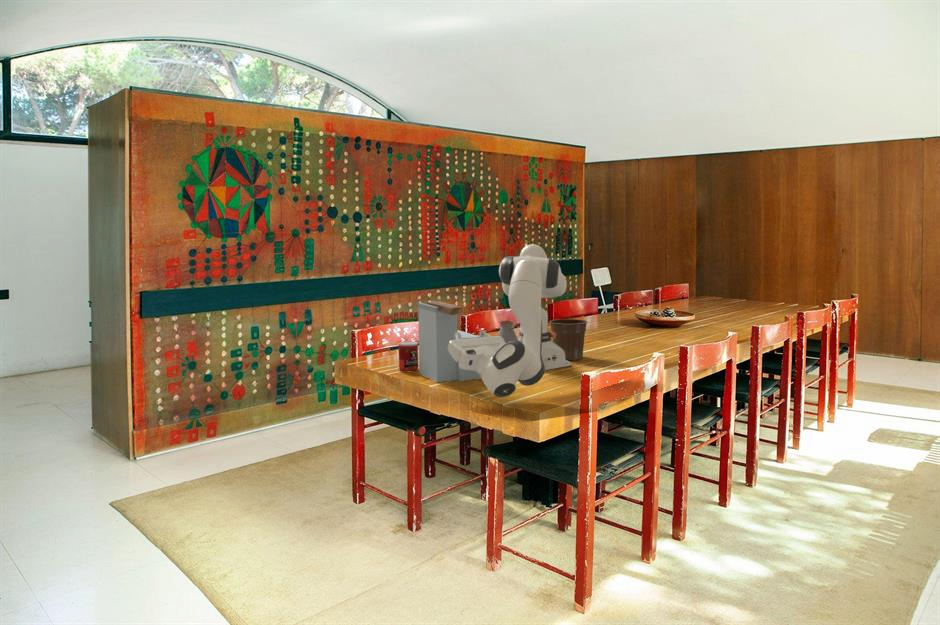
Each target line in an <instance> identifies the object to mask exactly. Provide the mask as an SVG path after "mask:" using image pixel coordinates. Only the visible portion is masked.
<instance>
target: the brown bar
mask: <svg viewBox="0 0 940 625" xmlns="http://www.w3.org/2000/svg"><path fill="white" fill-rule="evenodd" d="M426 304H428V305H431V306H435V307H439V312H442V313H446V314H449V315H456V314H457V315H463V306H459V305H456V304H452V303H448V302H447V303H446V302H444V301H439V300H437V301H436V300H434V301H433V300H431V301H426Z"/></svg>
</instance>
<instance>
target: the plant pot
mask: <svg viewBox="0 0 940 625" xmlns="http://www.w3.org/2000/svg"><path fill="white" fill-rule="evenodd" d="M588 322H589V321H588V320H586V319H585V320H584V319H581V318H579V319H578V318H561V319H552V320H550V321H549V320H548V323H549V324H550V330H551V333H556V337H555V338H553V337H552V341H553V342H554V343H555V344H557V345H558V346H559V347H560V348H562V349H563V351H564V353H565V360H567V361H578V360H581V359H583V356H584V345H585V336H586V335H585V334H586V331H587V324H588Z"/></svg>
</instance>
